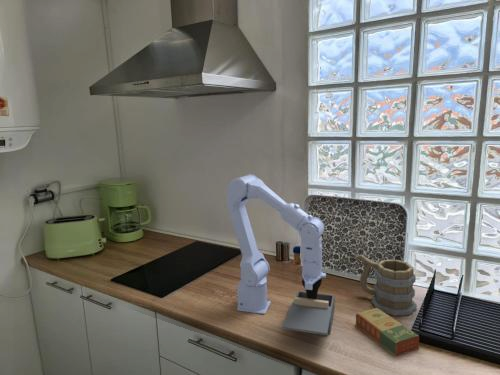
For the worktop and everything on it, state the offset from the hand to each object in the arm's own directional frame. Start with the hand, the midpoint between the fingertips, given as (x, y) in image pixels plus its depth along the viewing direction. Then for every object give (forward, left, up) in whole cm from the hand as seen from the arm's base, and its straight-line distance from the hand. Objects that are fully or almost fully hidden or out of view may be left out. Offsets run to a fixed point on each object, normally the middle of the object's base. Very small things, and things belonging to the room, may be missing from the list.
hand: (312, 301), depth 108 cm
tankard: (+21, +17, -7) cm, 28 cm away
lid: (0, -8, -1) cm, 8 cm away
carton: (+21, -2, -7) cm, 22 cm away
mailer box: (0, +1, -6) cm, 7 cm away
